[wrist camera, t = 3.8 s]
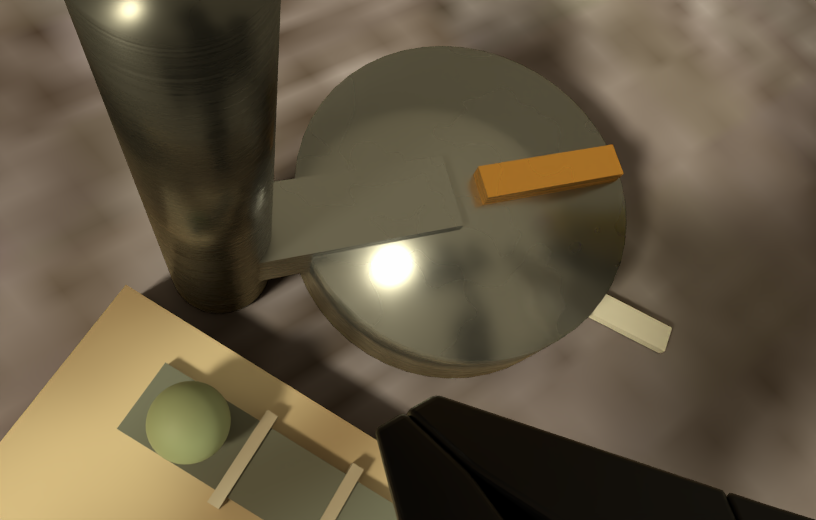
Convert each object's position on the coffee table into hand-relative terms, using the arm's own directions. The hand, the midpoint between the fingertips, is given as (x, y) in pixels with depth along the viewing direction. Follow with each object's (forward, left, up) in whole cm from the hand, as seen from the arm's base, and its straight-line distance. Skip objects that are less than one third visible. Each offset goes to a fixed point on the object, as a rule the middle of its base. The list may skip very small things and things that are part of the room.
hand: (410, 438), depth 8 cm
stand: (+1, +3, -11) cm, 11 cm away
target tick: (-5, -8, -11) cm, 14 cm away
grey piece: (+2, -7, -11) cm, 13 cm away
